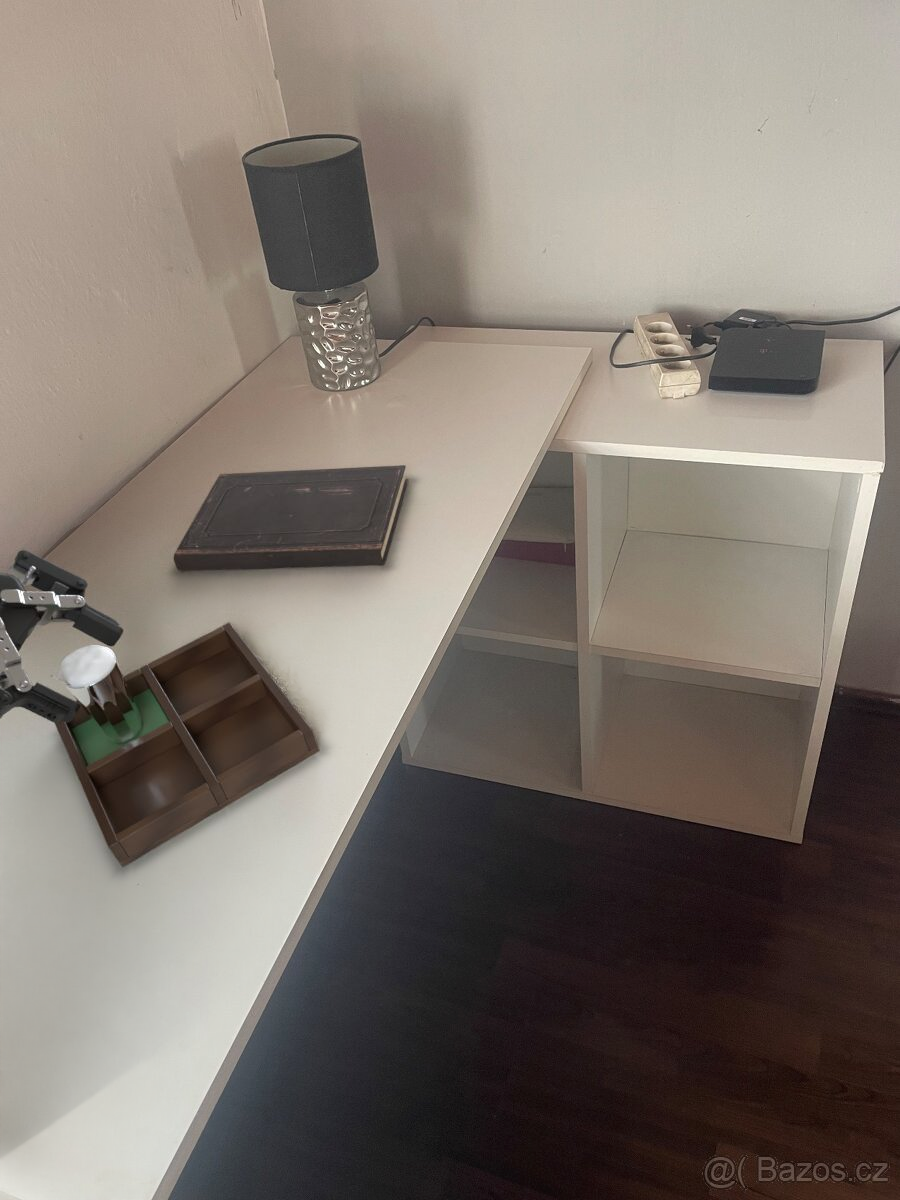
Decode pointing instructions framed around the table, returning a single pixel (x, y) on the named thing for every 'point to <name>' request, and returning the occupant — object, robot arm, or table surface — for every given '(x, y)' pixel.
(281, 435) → the table surface
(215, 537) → the hardcover book
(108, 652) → the milkshake
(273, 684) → the grid
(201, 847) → the table surface
